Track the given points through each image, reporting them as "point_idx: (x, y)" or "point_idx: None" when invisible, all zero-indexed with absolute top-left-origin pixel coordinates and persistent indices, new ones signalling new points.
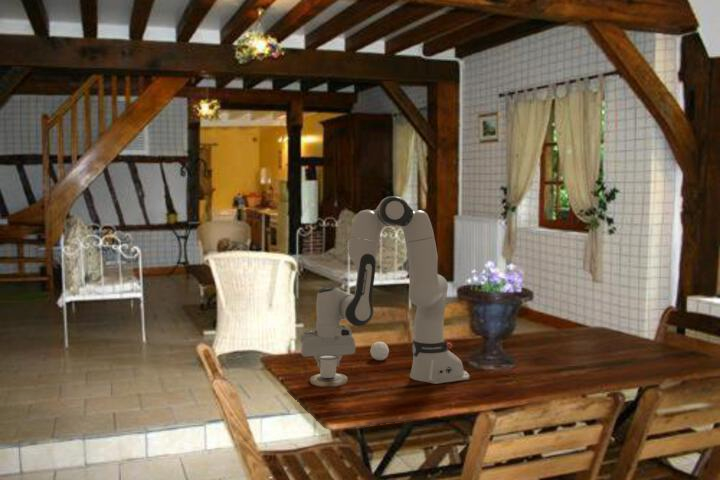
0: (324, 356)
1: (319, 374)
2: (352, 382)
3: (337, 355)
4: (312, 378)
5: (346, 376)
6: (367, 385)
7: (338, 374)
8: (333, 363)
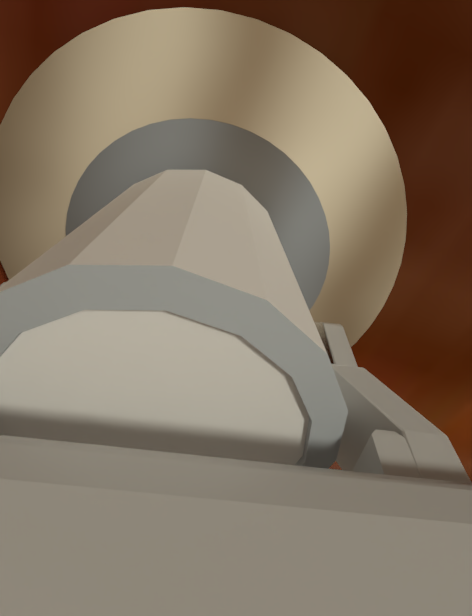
0: (82, 335)
1: (118, 54)
2: (388, 339)
3: (368, 464)
4: (17, 209)
5: (398, 267)
6: (441, 425)
7: (359, 158)
8: None
